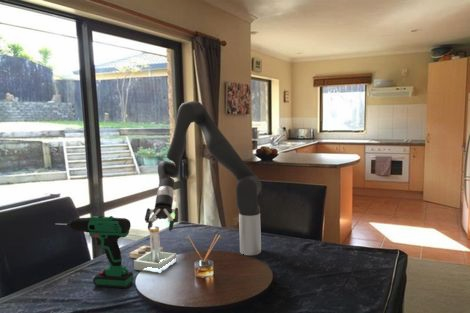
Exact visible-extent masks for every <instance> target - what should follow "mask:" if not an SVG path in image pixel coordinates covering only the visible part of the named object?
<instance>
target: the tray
mask: <svg viewBox="0 0 470 313" xmlns="http://www.w3.org/2000/svg"><path fill="white" fill-rule="evenodd" d="M165 258H166V259H165ZM175 258H177V253H175V252H174V253H173V252H165V251H163V252H160V260H161V259H165V260H163V261H162V262H160V263H154V262H151V251H150V252H148V253H147V254H145V255H143V256H141V257H140V258H138V259H137V258H135V260H133V267H134V268H133V269H134V270H136V271H141V270H143V269H144V268H147V267H152V268H158V269H160V268H162V267H163V266H165V265H166V264H168V263H169V262H171V261H172V260H173V259H175Z"/></svg>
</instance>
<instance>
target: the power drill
mask: <svg viewBox="0 0 470 313" xmlns="http://www.w3.org/2000/svg"><path fill="white" fill-rule="evenodd" d="M54 224H55V225H58V226H59V225H62V226H63V225H64V226H67V227H68V228H70V230H71V231H75V232H80V233H88V235H89V236H90V238H95V239H96V240H97V244H96V245H97V246H99V247H100V248H101V249H103V250H104V254H105V256H106V258H107V260H108V263H109V266H107V267H106V268H105V269H103V270H101V271H99V272H98V274H96V275H95V276H94V277H93V280H92V283H93V285H94V286H96V287H100V288H101V287H105V288H116V289H117V288H118V289H127V288H129V286H130V285H132V283H133V281H134V273H133V271H129V269H128V268H127V266H126V265H122V260H123V257H122V252H121V249H120V245H119V243H118V242H119V239H122V238H126V237H127V236H128V235H129V234H130V229H131V226H132V225H131V221H130V219H128V218H125V217H114V216H112V215H110V216H104V215H101V216H98V215H93V216H91V217H90V216H89V217H78V218H77V217H75V218H73V219H71V220H69V221H68V223H54Z"/></svg>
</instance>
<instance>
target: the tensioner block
mask: <svg viewBox="0 0 470 313" xmlns="http://www.w3.org/2000/svg"><path fill="white" fill-rule="evenodd" d="M150 251H151V246H150V245H142V246H140V247H138V248H137V249H135V250H133V251H130V252H129V258H130V259H131V258H132V259H138V258H140V257H141V256H143V255H145V254H147V253H148V252H150ZM160 252H164V251H163V247H161V246H160Z"/></svg>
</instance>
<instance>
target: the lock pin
mask: <svg viewBox="0 0 470 313" xmlns="http://www.w3.org/2000/svg"><path fill="white" fill-rule="evenodd" d="M149 242H150V243H149V244H150V245H149V246H151V262H154V263H159V262H160V247H161V246H160V245H161V243H160V227H159V226H152V227H150V231H149Z"/></svg>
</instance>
